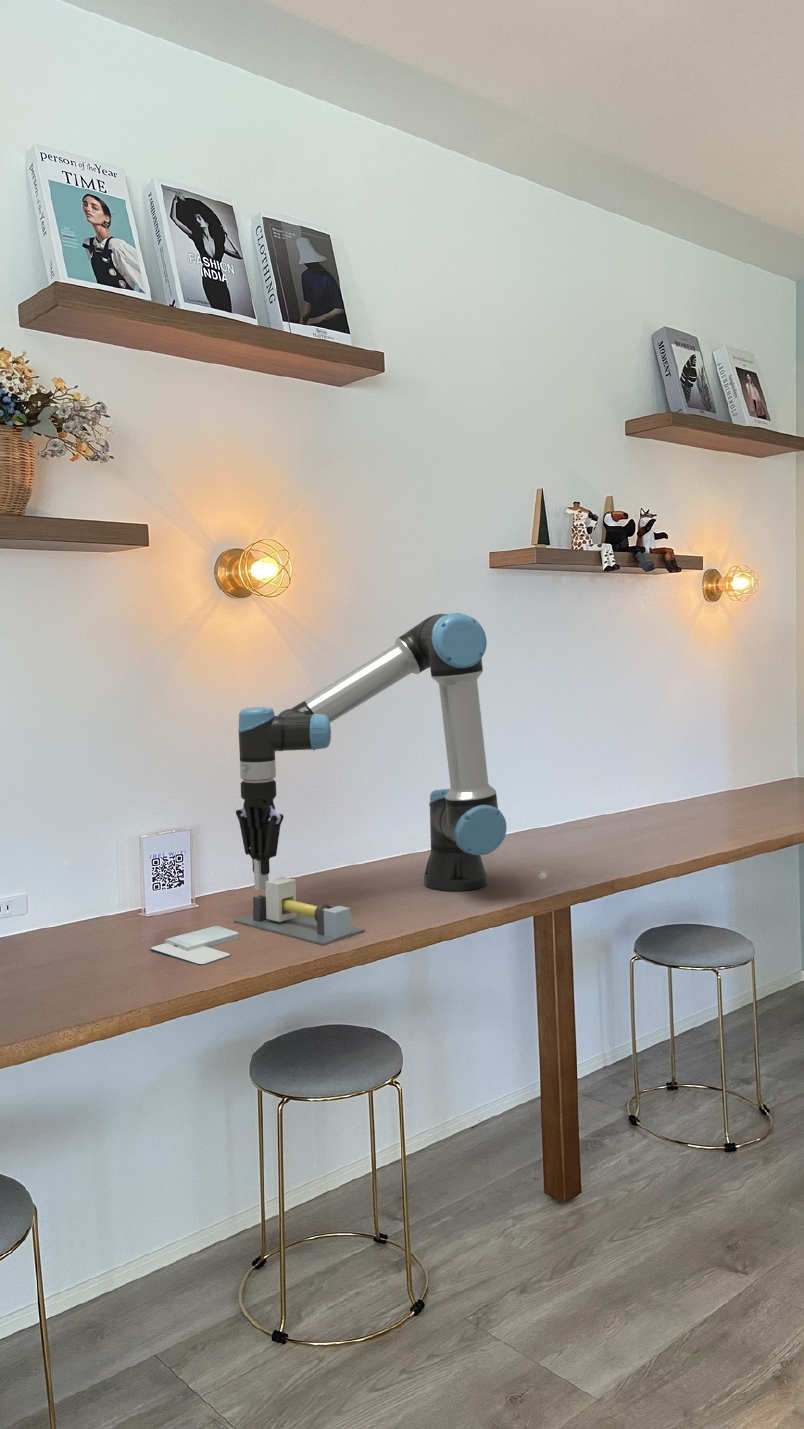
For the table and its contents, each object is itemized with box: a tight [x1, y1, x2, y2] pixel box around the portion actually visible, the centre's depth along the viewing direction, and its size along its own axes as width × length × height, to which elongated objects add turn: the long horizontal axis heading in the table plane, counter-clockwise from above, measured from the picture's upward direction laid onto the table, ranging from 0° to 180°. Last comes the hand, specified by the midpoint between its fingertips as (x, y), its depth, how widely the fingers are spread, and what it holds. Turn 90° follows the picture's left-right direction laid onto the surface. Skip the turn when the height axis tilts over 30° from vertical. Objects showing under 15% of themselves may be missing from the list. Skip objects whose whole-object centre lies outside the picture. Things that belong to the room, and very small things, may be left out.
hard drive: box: [163, 925, 240, 951], centre depth 213 cm, size 2×8×12 cm
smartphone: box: [149, 942, 232, 966], centre depth 205 cm, size 8×1×16 cm
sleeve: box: [265, 876, 297, 922], centre depth 224 cm, size 4×5×8 cm
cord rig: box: [233, 894, 366, 946], centre depth 221 cm, size 27×12×6 cm, turn 49°
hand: (261, 888), depth 228 cm, fingers closed
